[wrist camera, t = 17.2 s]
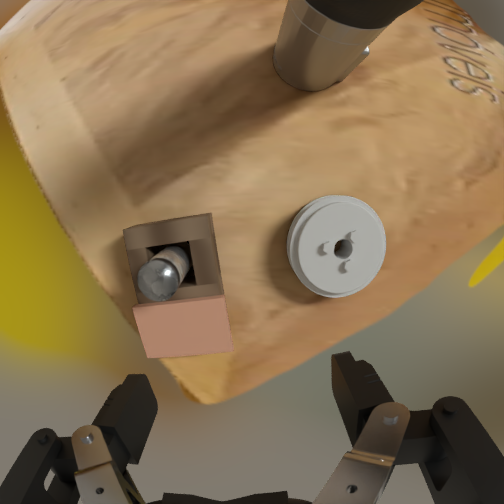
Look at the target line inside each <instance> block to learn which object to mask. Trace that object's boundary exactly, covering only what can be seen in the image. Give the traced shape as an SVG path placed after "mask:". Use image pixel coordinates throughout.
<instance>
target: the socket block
mask: <svg viewBox="0 0 504 504" xmlns="http://www.w3.org/2000/svg"><path fill="white" fill-rule="evenodd" d="M123 234H124V240H125V245H126V250H127V255H128V260H129V265H130V269H131V274H132V278H133V283H134V287H135V291H136V295H137V299H138V303H139V304H146V303H156V302H165V301H174V300H183V299H192V298H200V297H208V296H216V295H224V289H223V283H222V277H221V271H220V265H219V259H218V253H217V246H216V240H215V233H214V227H213V220H212V213H206V214H200V215H193V216H187V217H181V218H174V219H168V220H162V221H157V222H151V223H145V224H140V225H135V226H132V227H130V228H127V229H124V230H123ZM184 241H189V244H190V249H191V255H192V261H193V266H194V272H195V275H190V276H185V277H184V279H183V281H182V282H181V284H180V285H179V287H178V289H177V290H176V292H175V294H174V295H173V296H172V297H171V298H169V299H168V300H165V301H153V300H151V299H149V298H147V297H146V296H145V295H144V294H143V293H142V292H141V290H140V288H139V286H138V282H137V276H138V272H139V270H140V268H141V267H142V266H143V265H144V264H145V263H146V262H148V261H149V260H150V259H152V258H153V257H154V256H155V255H157V254H158V253H159V249H158V245H164V244H171V243H177V242H184ZM224 296H225V295H224ZM225 302H226V301H225ZM226 308H227V307H226ZM227 313H228V312H227ZM228 319H229V318H228ZM230 330H231V329H230Z"/></svg>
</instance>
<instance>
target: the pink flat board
mask: <svg viewBox="0 0 504 504" xmlns="http://www.w3.org/2000/svg"><path fill="white" fill-rule="evenodd" d="M132 309H133V313H134V316H135V320H136V323H137V327H138V330H139V333H140V336H141V340H142V343H143V346H144V349H145V352H146V355H147V358H161V357H177V356H190V355H202V354H212V353H222V352H231V351H234V346H233V341H232V335H231V330H230V324H229V319H228V313H227V308H226V302H225V296H224V295H216V296H208V297H200V298H192V299H183V300H174V301H165V302H156V303H146V304H137V305H134V306H133V307H132Z"/></svg>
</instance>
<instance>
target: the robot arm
mask: <svg viewBox="0 0 504 504" xmlns="http://www.w3.org/2000/svg"><path fill="white" fill-rule="evenodd" d="M422 1H423V0H288V2H287V6H286V9H285V13H284V16H283V20H282V24H281V27H280V31H279V35H278V38H277V42H276V45H275V48H274V54H273V64H274V67H275V69H276V71H277V73H278V75H279V76H280V77H281V78H282V79H283V80H284V81H285V82H287V83H288V84H289V85H291V86H293V87H295V88H298V89H301V90H306V91H319V90H323V89H325V88H327V87H329V86H331V85H332V84H333V83H334V82H337V81H343V80H344V79H345V78H346V77H347V76H348V75H349V74H350V73H351V72H352V71H353V70H354V69H355V68H356V67H357V66H358V65H359V64H360V63H361V62H362V61H363V60H364V59H365V58H366V57H367V56H368V55H369V48H368V46H369V45H370V44H371V43H372V42H373V41H374V40H375V39H376V38H377V37H378V36H379V34H380V33H381V32H382V31H383V30H384V29H385V28H386V27H387V26H388V25H389V24H391V23H392V22H393V21H394V20H395V19H396V18H397V17H398V16H400V15H402V14H403V13H405V12H407V11H408V10H410V9H412V8H414V7H415V6H417V5H418V4H420V3H421V2H422ZM331 358H332V359H331V364H332V365H331V366H332V390H333V395H334V398H335V400H336V403H337V406H338V408H339V411H340V414H341V416H342V419H343V422H344V425H345V428H346V430H347V433H348V436H349V438H350V441H351V444H352V447H353V449H352V451H351V452H346V453H345V455H344V456H343V458H342V459H341V461H340V463H339V464H338V466H337V467H336V469H335V470H334V472H333V474H332V475H331V477H330V478H329V480H328V481H327V483H326V484H325V486H324V487H323V489H322V490H321V491H320V493H319V494H318V496H317V497H316V499H315V500H314V501H313V503H312V502H309V501H305V500H300V499H292V498H288V494H287V491H282V492H273V493H263V494H254V495H250V496H246V497H242V498H237V499H233V500H228V501H216V500H212V499H208V498H203V497H199V496H195V495H187V494H174V493H164V494H163V499H162V500H159V501H154V502H150V503H147V504H378V502H379V500H380V498H381V496H382V494H383V492H384V490H385V487H386V485H387V483H388V481H389V479H390V476H391V474H392V472H393V469H394V467H395V465H402V464H413V463H418V464H419V467H420V469H421V471H422V473H423V476H424V478H425V481H426V483H427V485H428V488H429V490H430V493H431V495H432V498H433V500H434V503H435V504H504V456H503V455H502V453H501V452H500V450H499V449H498V447H497V446H496V444H495V443H494V442H493V440H492V439H491V437H490V436H489V434H488V433H487V431H486V430H485V429H484V427H483V426H482V424H481V423H480V421H479V420H478V419H477V417H476V416H475V415H474V413H473V412H472V411H471V409H470V408H469V406H468V405H467V404H466V403H465V402H464V401H463V400H462V399H460V398H458V397H453V396H448V397H444V398H441V399H439V400H438V401H436V402H435V404H434V405H433V408H432V409H431V410H421V411H409V410H408V408H407V407H406V406H404V405H403V404H400V403H396V402H394V400H393V398H392V397H391V395H390V394H389V392H388V390H387V389H386V387H385V385H384V384H383V382H382V381H381V380H380V377H379V376H378V374H377V373H376V371H375V369H374V368H373V366H372V365H371V364H369V363H367V362H366V361H364V360H360V361H355V360H354V358H353V356H352V355H351V353H350V351H347V352H343V353H338V354H333V355H332V357H331ZM157 410H158V405H157V400H156V398H155V395H154V393H153V390H152V388H151V385H150V383H149V380H148V378H147V376H146V375H145V374H129V375H128V376H127V377H126V379H125V381H124V382H123V384H122V385H119V386H117V387H116V388H115V389H114V390H113V391H111V393H110V395H109V396H108V399H107V400H106V401H105V403H104V406H102V408H101V409H100V411H99V413H98V415H97V416H96V418H95V419H94V421H93V423H92V425H85V426H82V427H80V428H78V429H77V430H76V431H75V432H74V433H73V434H72V437H58V436H57V435H56V433H55V432H54V431H53V430H52V429H49V428H43V429H40V430H38V431H36V432H35V433H34V434H33V435H32V436H31V438H30V439H29V441H28V443H27V444H26V445H25V447H24V449H23V450H22V452H21V453H20V455H19V456H18V458H17V460H16V461H15V463H14V464H13V466H12V468H11V469H10V471H9V473H8V474H7V476H6V478H5V480H4V481H3V483H2V485H1V486H0V504H77V503H78V501H79V498H80V496H81V499H82V503H83V504H146V503H145V501H144V500H143V498H142V496H141V494H140V493H139V491H138V489H137V487H136V485H135V483H134V481H133V480H132V478H131V476H130V474H129V472H128V470H127V469H126V466H127V464H128V463H130V464H138V463H139V460H140V458H141V455H142V452H143V449H144V447H145V444H146V441H147V438H148V436H149V433H150V430H151V428H152V425H153V422H154V420H155V417H156V414H157ZM50 469H51V470H52V471H53V473H54V474H55V476H54V478H53V480H52V482H51V484H50V486H49V488H48V490H47V491H46V490H45V488H44V480H45V478H46V476H47V474H48V472H49V471H50Z"/></svg>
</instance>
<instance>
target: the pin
mask: <svg viewBox="0 0 504 504" xmlns="http://www.w3.org/2000/svg"><path fill="white" fill-rule="evenodd" d="M192 265H193V261H192V255H191V249H190V245H189V244H187V243H186V242H177V243H171V244H170V245H168V246H167V247H166V248H164V249H163V250H162V251H160V252H159V253H158V254H157V255H155V256H154V257H153V258H152V259H150V260H149V261H148V262H146V263H145V264H144V265H143V266H142V267H141V268H140V270H139V272H138V276H137V282H138V286H139V288H140V290H141V292H142V293H143V294H144V295H145V296H146V297H147V298H149V299H151V300H153V301H165V300H168V299H169V298H171V297H172V296H173V295H174V294H175V292H176V290H177V289H178V287H179V285H180V284H181V282H182V281H183V279H184V277H185V276H186V274H187V273H188V271H189V269H190V268H191V266H192Z"/></svg>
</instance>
